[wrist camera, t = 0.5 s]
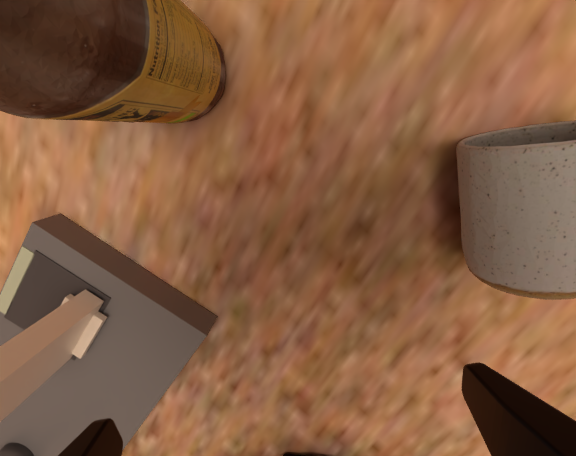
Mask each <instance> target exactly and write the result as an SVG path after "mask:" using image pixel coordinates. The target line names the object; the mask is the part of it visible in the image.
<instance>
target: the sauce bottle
mask: <svg viewBox="0 0 576 456" xmlns="http://www.w3.org/2000/svg"><path fill="white" fill-rule="evenodd" d="M224 84H225V62H224V57H223V52H222V49H221V47H220V45H219V44H218V42H217V41H216V39H215V38H214V37H213V35H212V34H211V33H210V31H209V29H208V28H207V27H206V26H205V24H204V23H203V22H202V21H201V20H200V19H199V18H198V17H197V16H196V15H195V14H194V13H193V12H192V11H191V10H190V9H189V8H188V7H187V6H186V5H185V4H184V3H183V2H182V1H181V0H0V111H3V112H6V113H8V114H12V115H16V116H20V117H24V118H33V119H56V120H92V121H112V122H119V121H122V122H152V123H180V122H185V121H192V120H196V119H198V118H200V117H201V116H203V115H204V114H206V113H207V112H208V111H209V110H210V109H211V108H212V107H213V106H214V105H215V103H216V102H217V101H218V100H219V99H220V97H221V95H222V93H223V91H224Z"/></svg>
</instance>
